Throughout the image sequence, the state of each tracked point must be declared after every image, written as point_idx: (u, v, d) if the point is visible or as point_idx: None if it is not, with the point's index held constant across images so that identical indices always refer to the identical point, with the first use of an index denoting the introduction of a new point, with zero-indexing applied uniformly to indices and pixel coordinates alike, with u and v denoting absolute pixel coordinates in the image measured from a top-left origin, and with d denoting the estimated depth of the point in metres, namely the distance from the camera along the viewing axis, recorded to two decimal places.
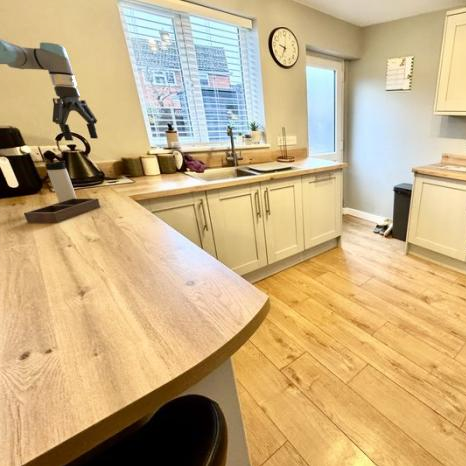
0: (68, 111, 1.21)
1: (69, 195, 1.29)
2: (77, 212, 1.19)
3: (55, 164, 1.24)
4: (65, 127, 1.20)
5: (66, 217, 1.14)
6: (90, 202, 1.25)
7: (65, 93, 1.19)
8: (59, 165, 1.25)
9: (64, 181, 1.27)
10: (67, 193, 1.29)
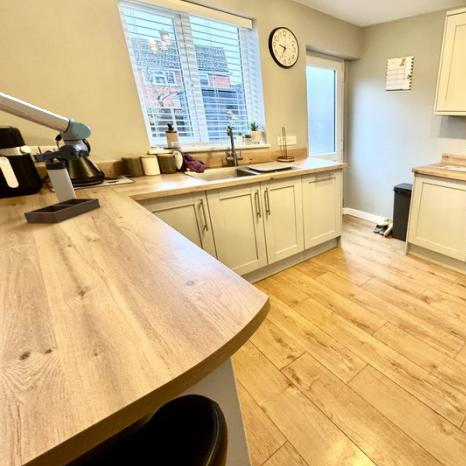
0: None
1: (69, 195, 1.29)
2: (77, 212, 1.19)
3: (55, 164, 1.24)
4: (81, 156, 1.39)
5: (66, 217, 1.14)
6: (90, 202, 1.25)
7: None
8: (59, 165, 1.25)
9: (64, 181, 1.27)
10: (67, 193, 1.29)
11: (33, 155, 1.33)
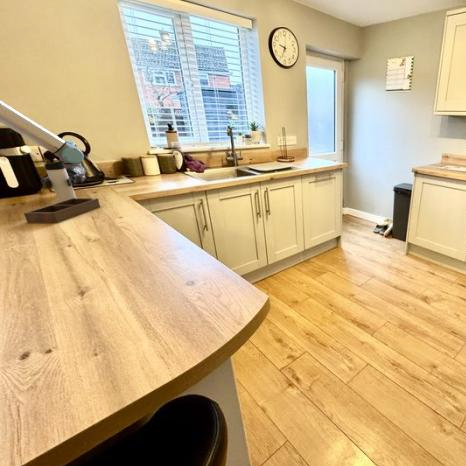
0: None
1: (68, 195, 1.29)
2: (77, 212, 1.19)
3: (54, 164, 1.24)
4: (73, 182, 1.31)
5: (66, 217, 1.14)
6: (90, 202, 1.25)
7: None
8: (58, 165, 1.25)
9: (64, 181, 1.27)
10: (66, 193, 1.29)
11: (42, 180, 1.27)
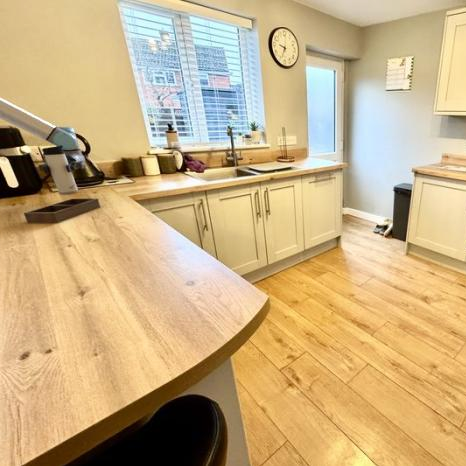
0: None
1: (68, 182, 1.23)
2: (77, 212, 1.19)
3: (53, 148, 1.17)
4: (73, 169, 1.24)
5: (66, 217, 1.14)
6: (90, 202, 1.25)
7: None
8: (57, 150, 1.18)
9: (63, 167, 1.21)
10: (66, 179, 1.22)
11: (40, 165, 1.20)
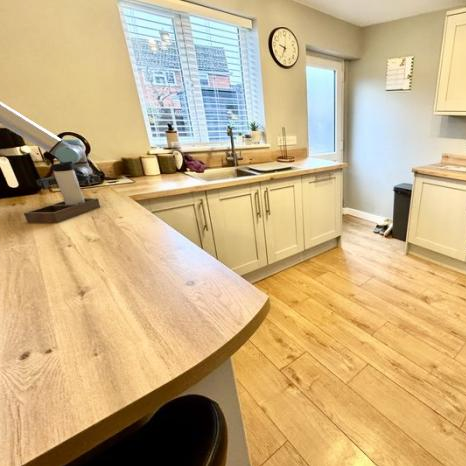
0: (84, 181, 1.29)
1: (76, 198, 1.21)
2: (77, 212, 1.19)
3: (62, 165, 1.16)
4: None
5: (66, 217, 1.14)
6: (90, 202, 1.25)
7: None
8: (66, 166, 1.17)
9: (72, 183, 1.19)
10: (74, 196, 1.21)
11: (37, 180, 1.18)
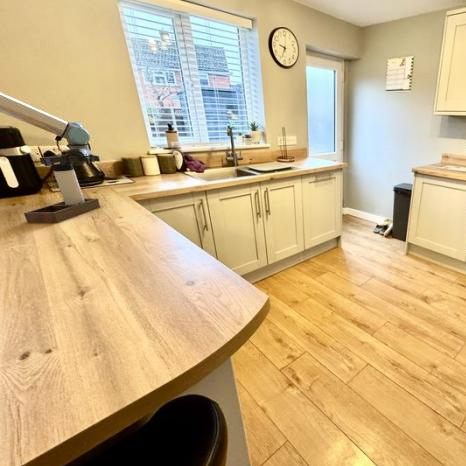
0: (85, 161, 1.37)
1: (76, 198, 1.21)
2: (77, 212, 1.19)
3: (62, 165, 1.16)
4: None
5: (66, 217, 1.14)
6: (90, 202, 1.25)
7: None
8: (66, 166, 1.17)
9: (72, 183, 1.19)
10: (74, 196, 1.21)
11: (40, 158, 1.25)
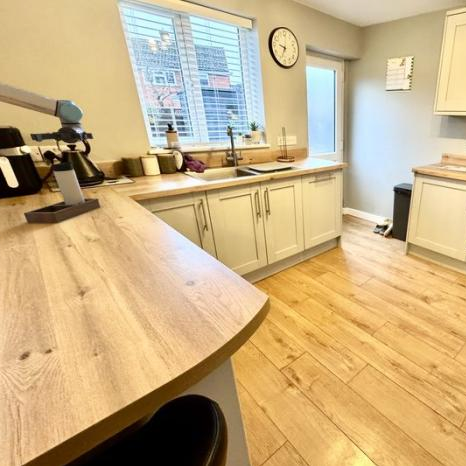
0: (77, 138, 1.33)
1: (76, 198, 1.21)
2: (77, 212, 1.19)
3: (62, 165, 1.16)
4: (84, 138, 1.29)
5: (66, 217, 1.14)
6: (90, 202, 1.25)
7: (79, 139, 1.38)
8: (66, 166, 1.17)
9: (72, 183, 1.19)
10: (74, 196, 1.21)
11: (31, 134, 1.22)
